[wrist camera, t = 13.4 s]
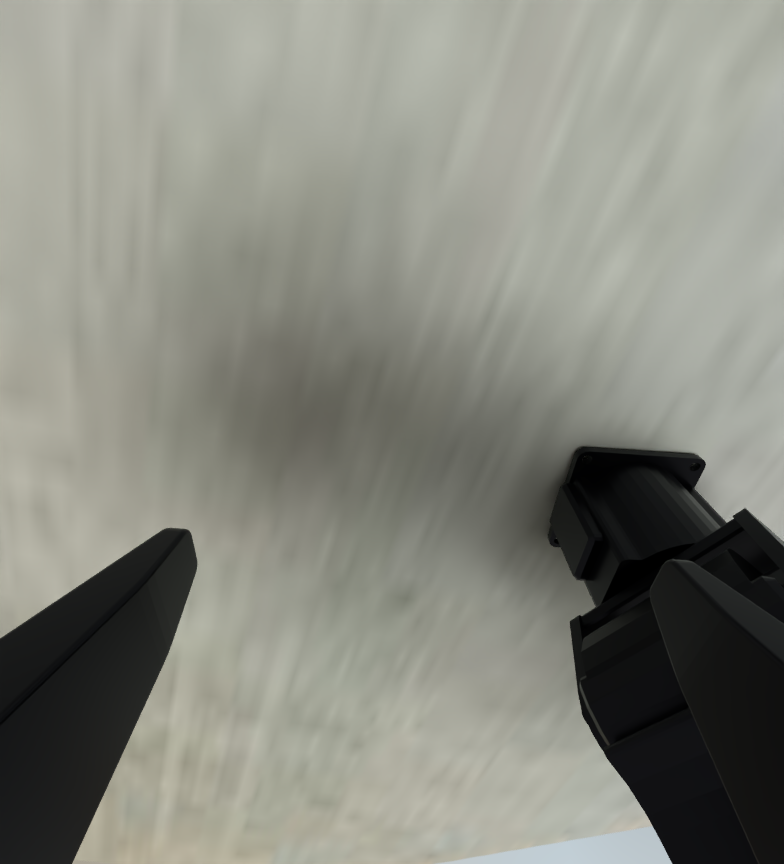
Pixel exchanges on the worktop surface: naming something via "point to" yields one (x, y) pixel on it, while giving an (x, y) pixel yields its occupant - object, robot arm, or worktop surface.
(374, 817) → the worktop surface
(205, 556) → the worktop surface
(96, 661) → the robot arm
